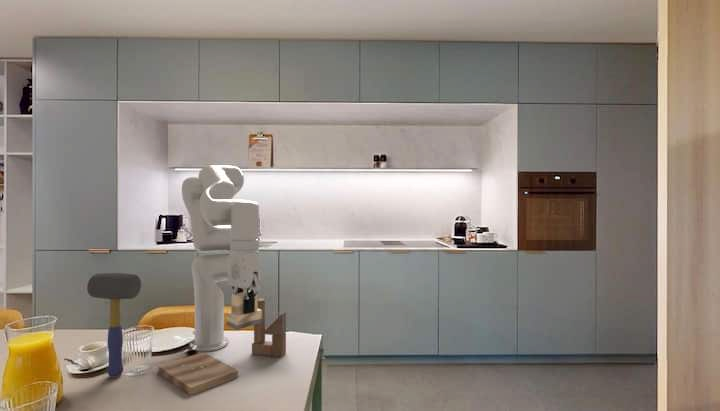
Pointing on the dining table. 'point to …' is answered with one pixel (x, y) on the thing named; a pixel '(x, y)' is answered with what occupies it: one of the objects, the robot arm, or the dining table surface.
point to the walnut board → (197, 372)
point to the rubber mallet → (114, 310)
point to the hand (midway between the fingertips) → (244, 310)
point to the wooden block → (275, 329)
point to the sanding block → (242, 313)
